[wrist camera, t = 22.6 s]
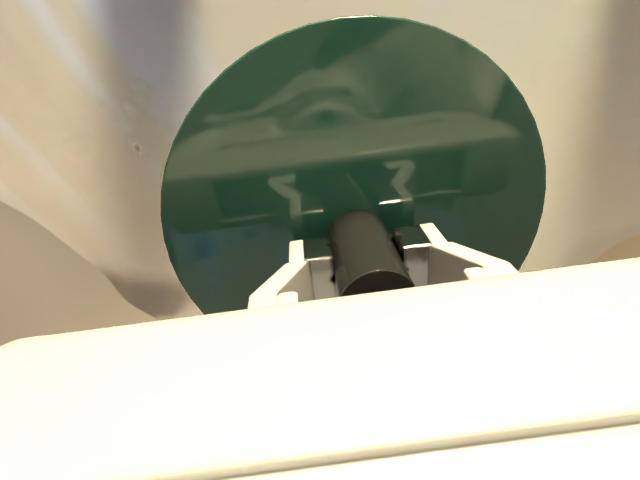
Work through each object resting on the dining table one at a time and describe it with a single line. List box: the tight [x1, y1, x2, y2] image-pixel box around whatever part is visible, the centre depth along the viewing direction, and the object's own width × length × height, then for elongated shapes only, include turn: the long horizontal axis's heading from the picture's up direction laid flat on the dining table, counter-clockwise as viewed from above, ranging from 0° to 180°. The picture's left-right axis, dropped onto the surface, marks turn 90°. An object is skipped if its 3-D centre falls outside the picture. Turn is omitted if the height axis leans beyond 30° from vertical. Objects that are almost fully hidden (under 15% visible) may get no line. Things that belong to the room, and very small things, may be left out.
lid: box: [161, 15, 546, 315], centre depth 13 cm, size 15×15×5 cm
